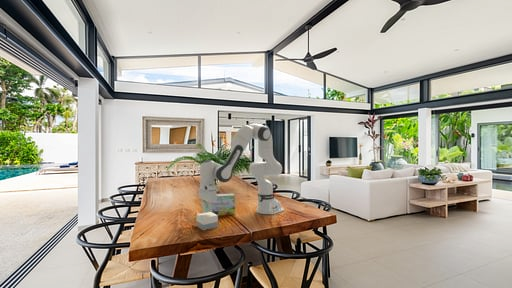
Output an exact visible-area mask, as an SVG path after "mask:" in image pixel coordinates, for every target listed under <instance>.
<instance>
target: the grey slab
mask: <svg viewBox="0 0 512 288" xmlns="http://www.w3.org/2000/svg"><path fill="white" fill-rule="evenodd" d="M218 225H219V224H218V222H214V223H210V224H205V225H203V224H201V223H199V222H198V221H197V220H196V227H198V229H200V230H201V229H202V231H207V229H208V230H211V229H216V228H218V227H219V226H218Z"/></svg>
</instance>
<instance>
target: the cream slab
mask: <svg viewBox="0 0 512 288" xmlns="http://www.w3.org/2000/svg"><path fill="white" fill-rule="evenodd" d="M218 220H219V215H216V214H214V213H212V212H207V213H206V212H202V213H197V214H196V222H197V221H198V222H199V223H201V224H203V225H205V224H210V223H214V222H218Z"/></svg>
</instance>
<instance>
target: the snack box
mask: <svg viewBox="0 0 512 288" xmlns="http://www.w3.org/2000/svg"><path fill="white" fill-rule="evenodd" d="M235 204H236V195H235V193H217V200H216V202H214V203H212V211H211V212H212V213H214V214H216V215H218V216H233V215H236V213H235V212H236V205H235ZM205 213H207V212H205Z"/></svg>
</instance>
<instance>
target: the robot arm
mask: <svg viewBox="0 0 512 288" xmlns="http://www.w3.org/2000/svg"><path fill="white" fill-rule="evenodd" d="M251 139H253V140H257V148H258V149H257V154H258V157H260V158H261V159H263V160H265V161H254V162H251V163H250V165H248V166H249V167H248V171H249V174H250V175H252V176H253V177H254V178H255V180H256V181H257V182H256V183H257V186H258V187H257V189H258V193H257V207H256V213H258V214H263V215H275V214H278V213H282V212H284V211H285V208H284V207H282V205H281V202H280V201H279V200H278V199H276V198H275V197H277V193H273V190H274V188H273V183H272V181H270V180H268V179H266V178H265V177H275V176H279V175H281V173H282V172H283V166H282V164H281V163H280V162H279V161H278V160H277V159H276V158H275V156H274V151H273V148H274V147H273V146H274V145H273V142H274V141H273V136H272V131H271V129H270V127H268V125H263V124H259V123H253V122H249V123H247V124H243V125H242V126H241V127H240V128H239V129H238V130H237V131H236V132H235V134H234V135H233V137H232V139H231V141H230V148H231V150H230V154H229V156H228V157H227V160H226V161H225V163H224V164H220V163H217V162H216V161H213V160H212V159H207V160H203V161H202V162H201V163H200V165H199V177H200V179H199V187H198V194H197V195H198V197H199V199H201V200H202V201H208V205H207V208H211V204H212V203H214V202H216V200H217V194H218V193H217V190H218V185H216V183H215V182H214V181H215V180H218V181H219V182H221V183H228V182H229V181H230V180H231V179H232V177H233V174H234V169H235V168H236V166H237V164H238V162H239V160H240V158H241V157H242V155H243V152H244V151H245V150H246V148H247V147H248V146H249V143H250V142H251ZM202 201H201V202H202Z"/></svg>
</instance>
